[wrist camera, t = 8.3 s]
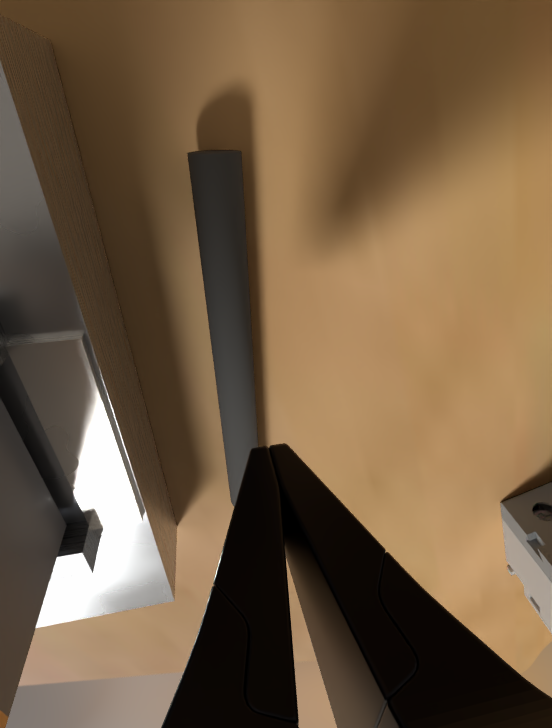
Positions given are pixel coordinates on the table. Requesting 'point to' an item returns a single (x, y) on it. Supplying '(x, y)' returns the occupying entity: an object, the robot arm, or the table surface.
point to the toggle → (22, 555)
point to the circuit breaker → (531, 546)
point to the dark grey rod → (227, 299)
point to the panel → (73, 356)
